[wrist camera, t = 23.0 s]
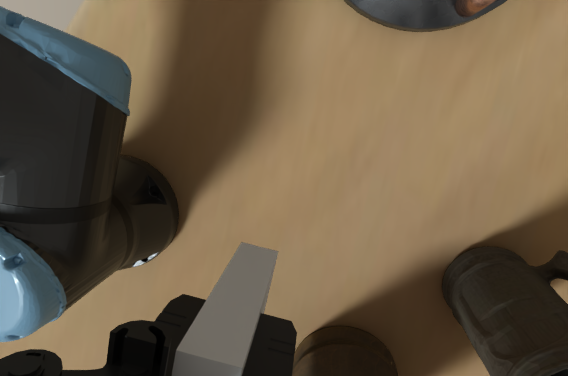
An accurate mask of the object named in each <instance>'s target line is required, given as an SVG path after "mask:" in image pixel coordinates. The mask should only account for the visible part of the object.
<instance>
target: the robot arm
mask: <svg viewBox="0 0 568 376" xmlns="http://www.w3.org/2000/svg"><path fill="white" fill-rule="evenodd" d="M130 88H131V72H130V70H129V68H128V66H127V65H126V63H125V62H124V61H123V60H122V59H121V58H119V57H118V56H116V55H114V54H112V53H110V52H108V51H106V50H104V49H102V48H100V47H98V46H95V45H93V44H91V43H89V42H86V41H84V40H82V39H79V38H77V37H75V36H72V35H70V34H68V33H65V32H63V31H61V30H58V29H56V28H53V27H51V26H48V25H46V24H43V23H41V22H39V21H36V20H33V19H31V18H28V17H24V16H22V15H21V14H18V13H15V12H13V11H10V10H7V9H5V8H3V7H1V6H0V342H8V341H14V340H18V339H20V338H24V337H26V336H28V335H30V334H32V333H33V332H35V331H36V330H38V329H39V328H41V327H42V326H44V325H45V324H47V323H49V322H52V321H55V320H56V319H58V318H59V317H60V316H61V315H62V313H64V311H65V310H67V309H68V308H69V307H70V306H72V305H73V304H74V303H76V302H77V301H78V300H79V299H81V298H82V297H83V296H84V295H86V294H87V293H88V292H89V291H91V290H92V289H93V288H95V287H96V286H97V285H98V284H100V283H101V282H102V281H104V280H105V279H106V278H108V277H109V276H110V275H111V274H113V273H114V272H115V271H117V270H122V269H126V268H131V267H136V266H139V265H142V264H145V263H147V262H149V261H151V260H152V259H154V258H155V257H156V256H158V255H159V254H160V253H161V252H162V251H163V250H164V249H165V248H166V247H167V246H168V245H169V244H170V242H171V241H172V239H173V237H174V235H175V233H176V230H177V226H178V219H179V212H178V204H177V200H176V197H175V194H174V192H173V190H172V188H171V186H170V185H169V183H168V181H167V180H166V179H165V178H164V176H163V175H162V174H161V173H160V172H159V171H158V170H156V169H155V168H154V167H153V166H151V165H150V164H148V163H146V162H144V161H142V160H140V159H137V158H134V157H130V156H120V153H121V148H122V142H123V137H124V131H125V126H126V121H127V116H129V115H130V111H129V109H128V104H129V96H130ZM277 255H278V251H275V250H271V249H267V248H263V247H259V246H255V245H251V244H247V243H243V242H241V244H240V246H239V247H238V249H237V251H236V252H235V254H234V256H233V257H232V259H231V260H230V262H229V264H228V265H227V267H226V269H225V270H224V272H223V274H222V275H221V277H220V279H219V280H218V282H217V284H216V285H215V287H214V288H213V290H212V292H211V293H210V295H209V297H208V298H207V300H204V299H200V298H196V297H193V296H189V295H185V294H182V295H181V296H179V297H177V298H175V299H173V300H171V301H170V302H169V303H168V304H167V306H166V307H165V308H164V309H163V311H162V313H160V315H159V316H158V317H157V318H156V320H155V321H154V322H152V321H145V320H139V321H130V322H127V323H124V324H121V325H119V326H117V327H116V328H115V329H113V330H112V331H110V338H109V346H108V354H107V362H106V365H105V366H104V367H103V368H100V369H95V370H62V368H63V367H62V361H61V358H59V357H58V356H57V355H56V354H55V353H53V352H50V351H47V350H36V349H30V350H25V351H20V352H16V353H13V354H11V355H9V356H6V357H4V358H2V359H0V376H292V371H293V362H294V354H295V345H296V336H297V332H296V330H295V328H294V326H293V323H292V321H289V320H285V319H281V318H277V317H274V316H270V315H266V314H264V310H265V306H266V302H267V297H268V293H269V289H270V285H271V280H272V276H273V272H274V268H275V263H276V259H277Z"/></svg>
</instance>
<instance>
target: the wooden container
mask: <svg viewBox="0 0 568 376" xmlns="http://www.w3.org/2000/svg"><path fill="white" fill-rule="evenodd" d="M292 376H398V373H397V369H396V366H395V363H394V360H393V358H392V356H391V354H390V352H389V350H388V349H387V348H386V346H385V345H384V344H383V343H382V342H381V341H380V340H378V339H377V338H376V337H374V336H373V335H371V334H369V333H367V332H365V331H363V330H360V329H357V328H353V327H347V326H336V327H328V328H324V329H321V330H318V331H316V332H314V333H312V334H311V335H309V336H308V337H307V338H305V339H304V340H303V341H302V342H301V344H300V345H299V346H298V348H297V349H296V351H295V354H294V362H293V371H292Z"/></svg>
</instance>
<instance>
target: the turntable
mask: <svg viewBox="0 0 568 376" xmlns="http://www.w3.org/2000/svg"><path fill="white" fill-rule="evenodd" d="M344 1H345V2H346V3H347V4H348V5H349V6H350V7H352V8H353V9H354V10H355V11H357V12H358V13H359V14H361V15H363V16H364V17H366V18H368V19H369V20H371V21H374V22H376V23H378V24H381V25H383V26H386V27H390V28H394V29H397V30H403V31H412V32H431V31H438V30H444V29H449V28H452V27H456V26H459V25H463V24H465V23H468V22H470V21H472V20H474V19H477V18H479V17H481V16H483V15H484V14H486V13H488V12H489V11H491V10H493V9H495V8H496V7H498V6H500V5H501V4H503V3H504V2H506V1H507V0H344Z"/></svg>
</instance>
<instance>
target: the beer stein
mask: <svg viewBox="0 0 568 376" xmlns="http://www.w3.org/2000/svg"><path fill="white" fill-rule="evenodd" d="M556 278H559V279H564V280H568V253H567V252H565V251H560V250H559V251H558V252H557V253H556V254H555V256H554V257H553V258H552V259H551V260H550V261H549V262H547V263H546V264H544V265H541V266H537V267H534V266H528V264H527V263H526V262H525V261H524V260H523V259H522V258H521V257H520V256H518V255H517V254H515V253H513V252H511V251H509V250H506V249H502V248H498V247H481V248H476V249H472V250H470V251H467V252H465V253H463V254H462V255H460V256H459V257H458V258H456V259H455V260H454V261H453V262H452V263H451V264H450V266H449V267H448V269H447V270H446V272H445V275H444V278H443V284H442V288H443V295H444V298H445V300H446V302H447V304H448V305H449V307H450V308H451V309H452V312H453V315H454V317H455V318H456V319H457V321H458V322H459V323H460V324H461V325H462V327H463V329H464V330H465V332H466V334H467V336H468V338H469V340H470V342H471V343H472V345H473V347H474V348H475V350H476V352H477V353H478V355H479V357H480V358H481V360H482V362H483V364H484V365H485V367H486V369H487V371H488V372H489V374H490V376H568V304H567V303H566V302H565V301H564V300H563V299H562V298H561V297H560V296H559V295H558V294H557V293H556V291H555V290H554V289H553V288H552V287H551V286H550V282H551V281H552V280H554V279H556Z"/></svg>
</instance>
